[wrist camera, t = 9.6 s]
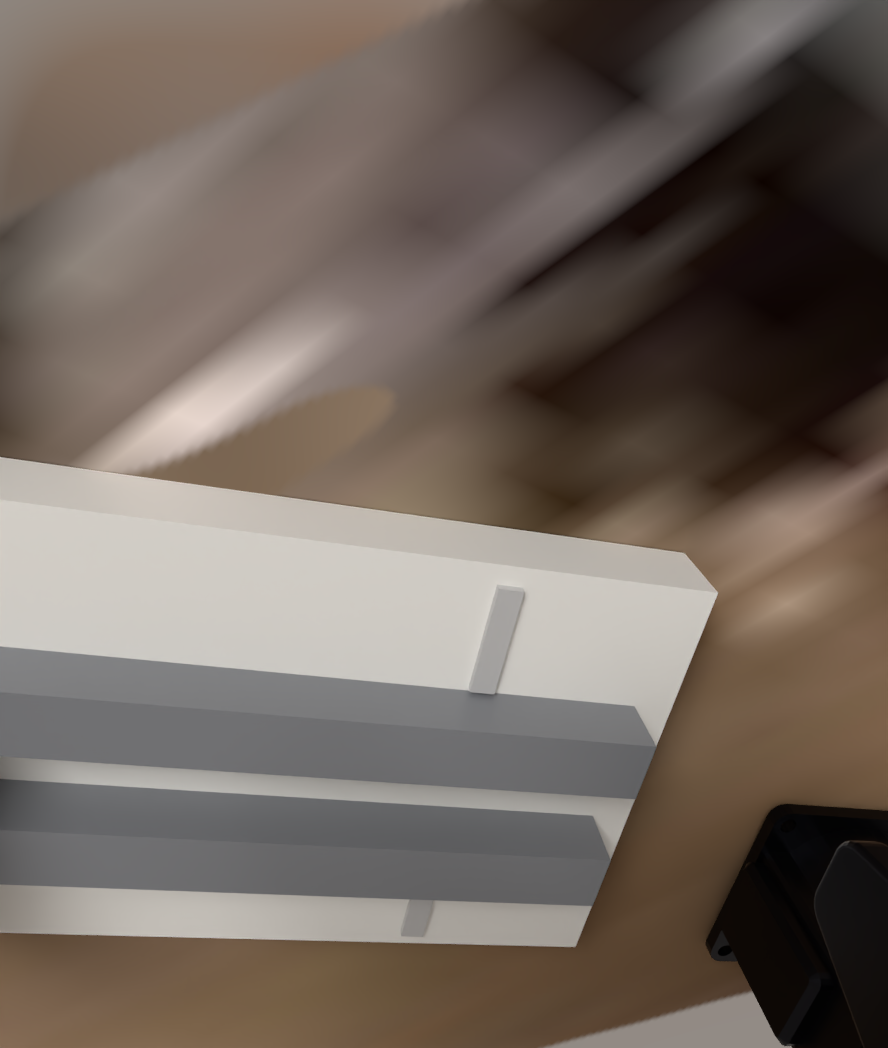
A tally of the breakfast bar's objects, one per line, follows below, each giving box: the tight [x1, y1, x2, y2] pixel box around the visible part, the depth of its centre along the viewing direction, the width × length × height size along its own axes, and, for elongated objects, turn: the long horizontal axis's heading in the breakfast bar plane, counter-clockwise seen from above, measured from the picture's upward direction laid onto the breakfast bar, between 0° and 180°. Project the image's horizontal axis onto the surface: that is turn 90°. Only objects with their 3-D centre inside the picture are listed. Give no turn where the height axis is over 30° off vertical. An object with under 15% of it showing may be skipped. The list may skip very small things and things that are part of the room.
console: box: [0, 457, 718, 947], centre depth 20 cm, size 24×12×4 cm, turn 78°
